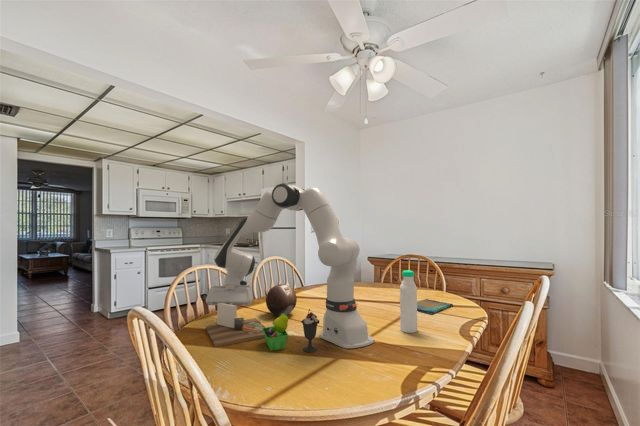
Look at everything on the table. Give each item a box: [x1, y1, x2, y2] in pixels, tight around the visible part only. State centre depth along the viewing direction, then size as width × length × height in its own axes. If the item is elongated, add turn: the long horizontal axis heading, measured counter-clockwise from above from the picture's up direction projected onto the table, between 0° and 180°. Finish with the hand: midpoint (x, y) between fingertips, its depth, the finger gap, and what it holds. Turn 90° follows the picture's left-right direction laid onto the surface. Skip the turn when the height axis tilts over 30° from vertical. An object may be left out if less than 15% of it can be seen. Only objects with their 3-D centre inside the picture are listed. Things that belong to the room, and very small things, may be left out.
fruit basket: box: [263, 313, 289, 351], centre depth 115 cm, size 11×9×11 cm
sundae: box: [300, 308, 320, 353], centre depth 110 cm, size 7×7×15 cm
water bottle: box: [399, 269, 419, 334], centre depth 129 cm, size 7×7×25 cm
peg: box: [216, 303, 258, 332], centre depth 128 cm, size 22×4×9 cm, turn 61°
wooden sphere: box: [265, 283, 297, 317], centre depth 151 cm, size 15×15×15 cm
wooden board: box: [205, 318, 266, 348], centre depth 127 cm, size 22×22×1 cm
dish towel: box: [417, 298, 454, 316], centre depth 164 cm, size 17×23×2 cm
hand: (225, 313), depth 134 cm, fingers closed
